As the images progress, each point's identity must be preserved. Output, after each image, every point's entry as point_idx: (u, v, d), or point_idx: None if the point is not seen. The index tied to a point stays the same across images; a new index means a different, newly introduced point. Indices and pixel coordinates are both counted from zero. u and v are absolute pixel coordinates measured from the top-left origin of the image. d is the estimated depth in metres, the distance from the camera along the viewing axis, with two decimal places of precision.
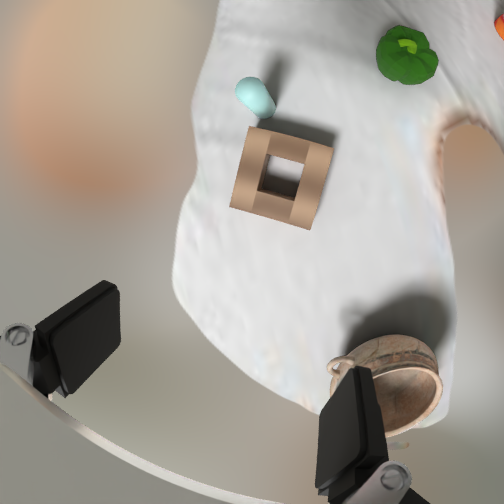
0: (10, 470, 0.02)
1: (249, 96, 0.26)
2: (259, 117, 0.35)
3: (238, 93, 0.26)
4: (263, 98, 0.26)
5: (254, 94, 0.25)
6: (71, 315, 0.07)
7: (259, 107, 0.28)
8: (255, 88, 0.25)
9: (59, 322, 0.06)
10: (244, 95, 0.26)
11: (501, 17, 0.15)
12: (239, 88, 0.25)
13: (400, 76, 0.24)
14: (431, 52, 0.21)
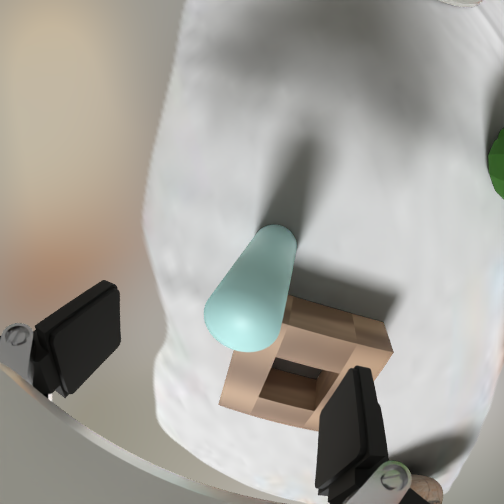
0: (10, 470, 0.02)
1: (240, 337, 0.11)
2: None
3: (212, 325, 0.11)
4: None
5: (253, 334, 0.11)
6: (71, 315, 0.07)
7: None
8: (256, 320, 0.11)
9: (59, 322, 0.06)
10: (228, 332, 0.11)
11: None
12: (214, 313, 0.11)
13: None
14: None
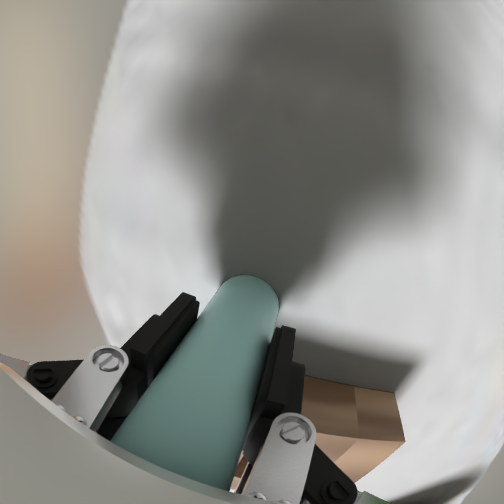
0: (10, 470, 0.02)
1: None
2: None
3: None
4: None
5: None
6: (165, 332, 0.08)
7: None
8: None
9: (157, 340, 0.07)
10: None
11: None
12: None
13: None
14: None
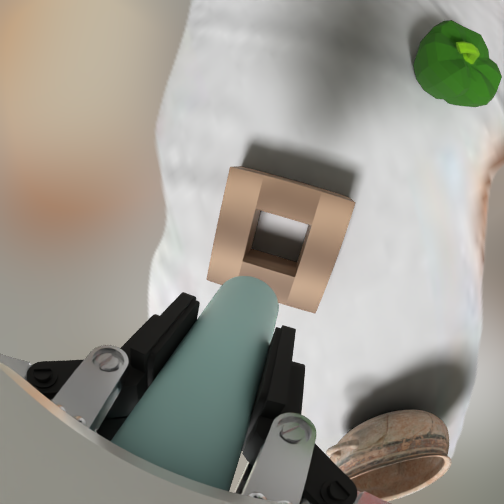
0: (10, 470, 0.02)
1: None
2: None
3: None
4: None
5: None
6: (165, 332, 0.08)
7: None
8: None
9: (157, 340, 0.07)
10: None
11: None
12: None
13: (453, 95, 0.15)
14: (492, 64, 0.11)
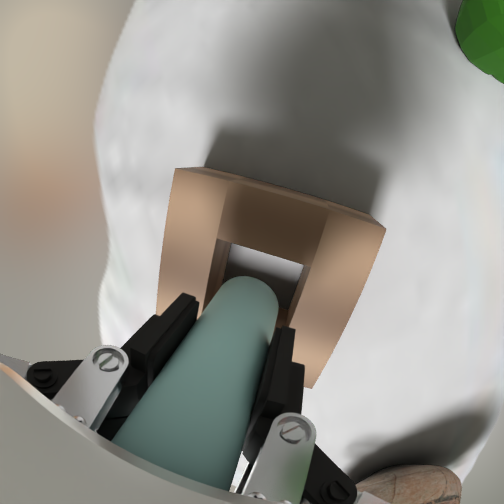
0: (10, 470, 0.02)
1: None
2: None
3: None
4: None
5: None
6: (165, 332, 0.08)
7: None
8: None
9: (156, 340, 0.07)
10: None
11: None
12: None
13: None
14: None
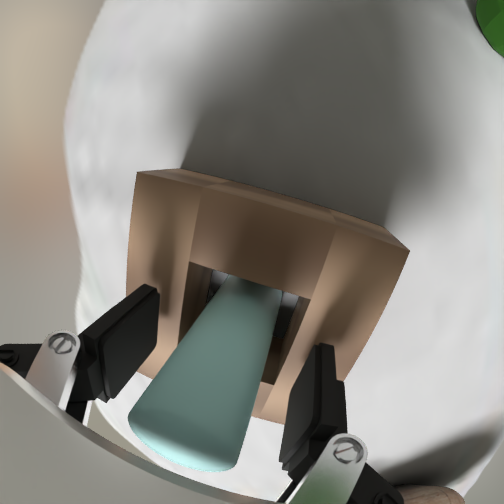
0: (10, 470, 0.02)
1: (183, 456, 0.06)
2: None
3: (144, 437, 0.06)
4: None
5: (200, 459, 0.06)
6: (118, 320, 0.08)
7: None
8: (200, 448, 0.06)
9: (108, 327, 0.07)
10: (166, 449, 0.06)
11: None
12: (142, 428, 0.06)
13: None
14: None
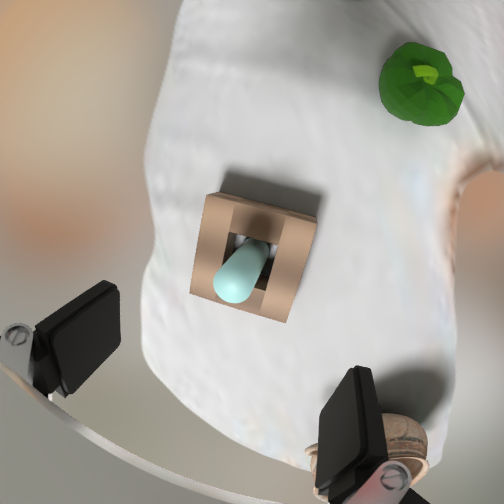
0: (10, 470, 0.02)
1: (232, 294, 0.22)
2: None
3: (217, 288, 0.22)
4: None
5: (238, 292, 0.22)
6: (71, 315, 0.07)
7: None
8: (239, 284, 0.22)
9: (59, 322, 0.06)
10: (225, 291, 0.22)
11: None
12: (218, 281, 0.22)
13: (413, 117, 0.19)
14: (455, 82, 0.15)
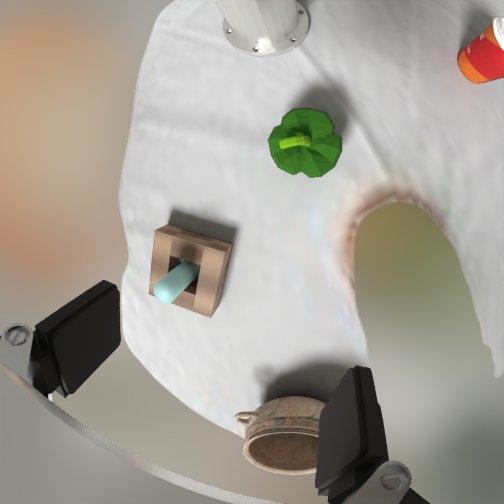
0: (10, 470, 0.02)
1: (164, 298, 0.34)
2: None
3: (156, 293, 0.34)
4: (176, 296, 0.35)
5: (167, 297, 0.34)
6: (71, 315, 0.07)
7: None
8: (167, 292, 0.34)
9: (59, 322, 0.06)
10: (160, 296, 0.34)
11: (465, 50, 0.21)
12: (156, 289, 0.34)
13: None
14: (331, 140, 0.27)
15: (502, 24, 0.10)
